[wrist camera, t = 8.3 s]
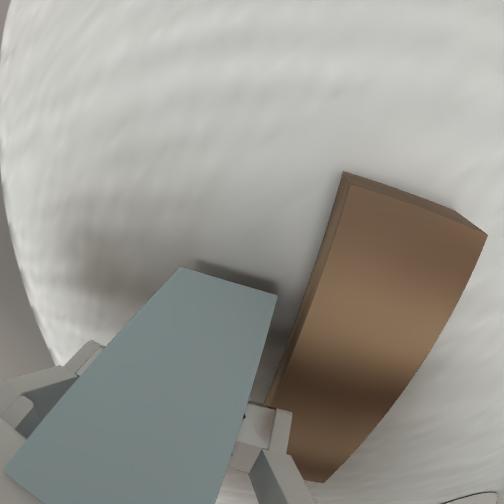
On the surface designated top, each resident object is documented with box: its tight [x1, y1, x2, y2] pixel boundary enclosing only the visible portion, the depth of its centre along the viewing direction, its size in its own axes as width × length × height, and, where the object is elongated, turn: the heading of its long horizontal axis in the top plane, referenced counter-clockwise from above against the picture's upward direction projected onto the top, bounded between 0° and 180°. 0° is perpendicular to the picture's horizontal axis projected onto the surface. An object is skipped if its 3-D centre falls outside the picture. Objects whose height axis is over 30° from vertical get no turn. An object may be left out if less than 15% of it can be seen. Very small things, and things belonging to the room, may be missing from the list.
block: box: [3, 267, 278, 504], centre depth 8 cm, size 4×4×10 cm
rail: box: [263, 171, 488, 483], centre depth 13 cm, size 16×5×3 cm, turn 168°
